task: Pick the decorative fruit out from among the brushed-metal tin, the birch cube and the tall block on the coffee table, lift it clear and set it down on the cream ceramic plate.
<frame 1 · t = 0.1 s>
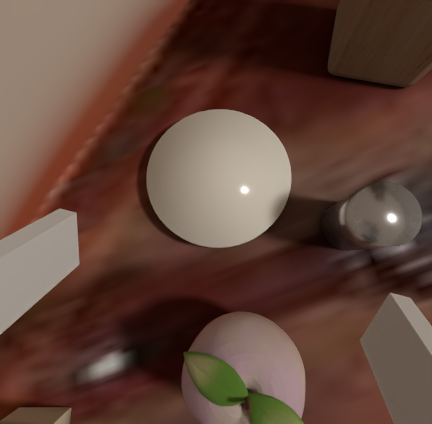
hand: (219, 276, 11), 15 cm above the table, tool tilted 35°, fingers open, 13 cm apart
block: (370, 50, 30), on the table
metal tin: (345, 226, 26), on the table
cream plate: (218, 179, 27), on the table
decorative fruit: (240, 347, 24), on the table
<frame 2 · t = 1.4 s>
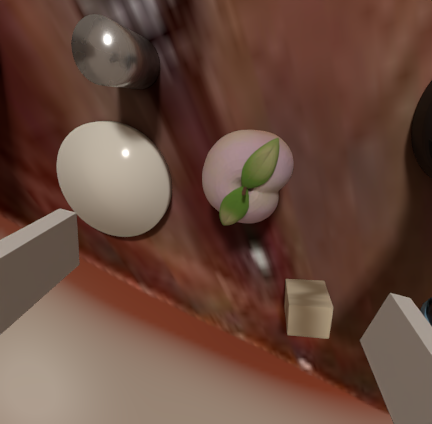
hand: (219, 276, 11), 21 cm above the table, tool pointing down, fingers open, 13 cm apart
birch cube: (303, 293, 35), on the table
metal tin: (137, 63, 27), on the table
cream plate: (117, 181, 33), on the table
decorative fruit: (247, 164, 30), on the table
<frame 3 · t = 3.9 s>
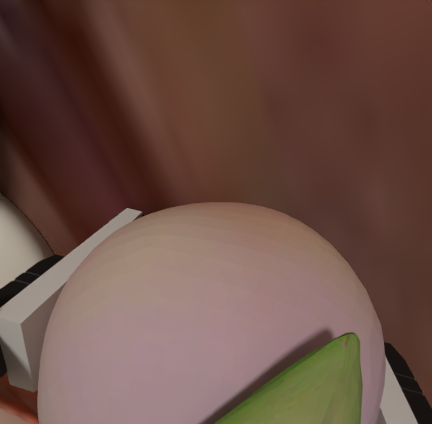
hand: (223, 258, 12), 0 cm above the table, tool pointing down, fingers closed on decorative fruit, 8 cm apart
decorative fruit: (223, 251, 12), on the table, touching gripper
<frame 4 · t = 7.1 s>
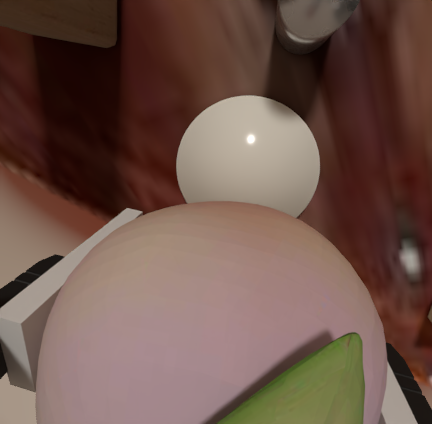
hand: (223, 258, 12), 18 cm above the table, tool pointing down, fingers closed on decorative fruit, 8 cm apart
metal tin: (304, 20, 22), on the table
cream plate: (245, 170, 28), on the table
decorative fruit: (223, 251, 12), point 17 cm above the table, touching gripper
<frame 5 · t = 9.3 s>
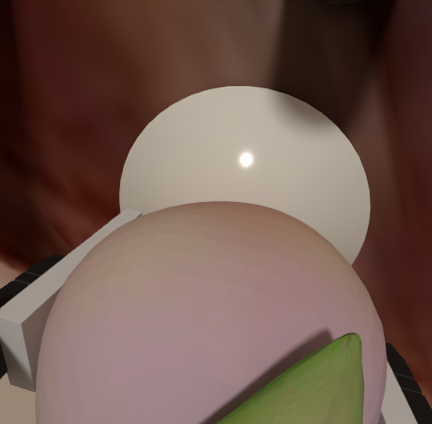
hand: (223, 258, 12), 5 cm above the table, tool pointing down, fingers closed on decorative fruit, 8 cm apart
cream plate: (236, 213, 17), on the table
decorative fruit: (223, 251, 12), point 5 cm above the table, touching gripper
when the fingers open (4 cm above the table, at t = 10.2 s): decorative fruit drops 2 cm, resting on cream plate.
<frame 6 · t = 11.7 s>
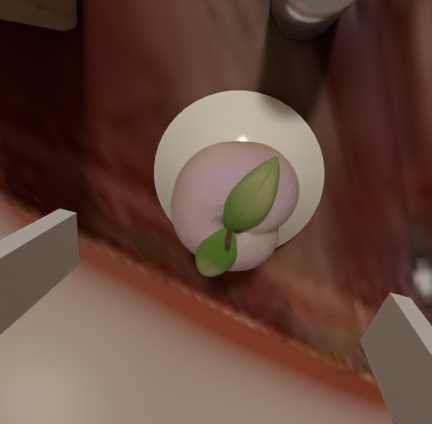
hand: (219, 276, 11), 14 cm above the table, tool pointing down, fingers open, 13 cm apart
cream plate: (236, 179, 24), on the table
decorative fruit: (235, 182, 22), point 1 cm above the table, touching cream plate
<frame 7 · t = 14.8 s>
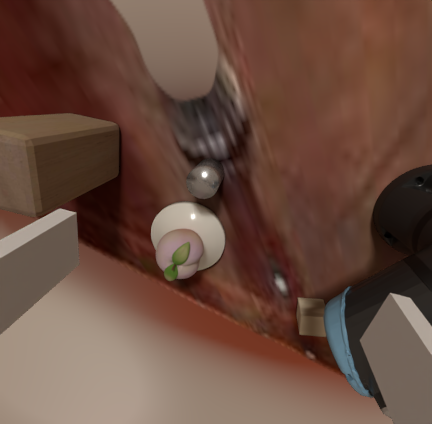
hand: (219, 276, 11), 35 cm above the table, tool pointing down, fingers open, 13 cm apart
block: (96, 145, 47), on the table
birch cube: (309, 307, 53), on the table
metal tin: (210, 172, 45), on the table
cream plate: (189, 235, 51), on the table
decorative fruit: (187, 238, 50), point 1 cm above the table, touching cream plate
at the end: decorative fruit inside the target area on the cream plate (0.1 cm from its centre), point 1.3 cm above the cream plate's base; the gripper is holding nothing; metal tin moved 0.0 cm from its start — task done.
